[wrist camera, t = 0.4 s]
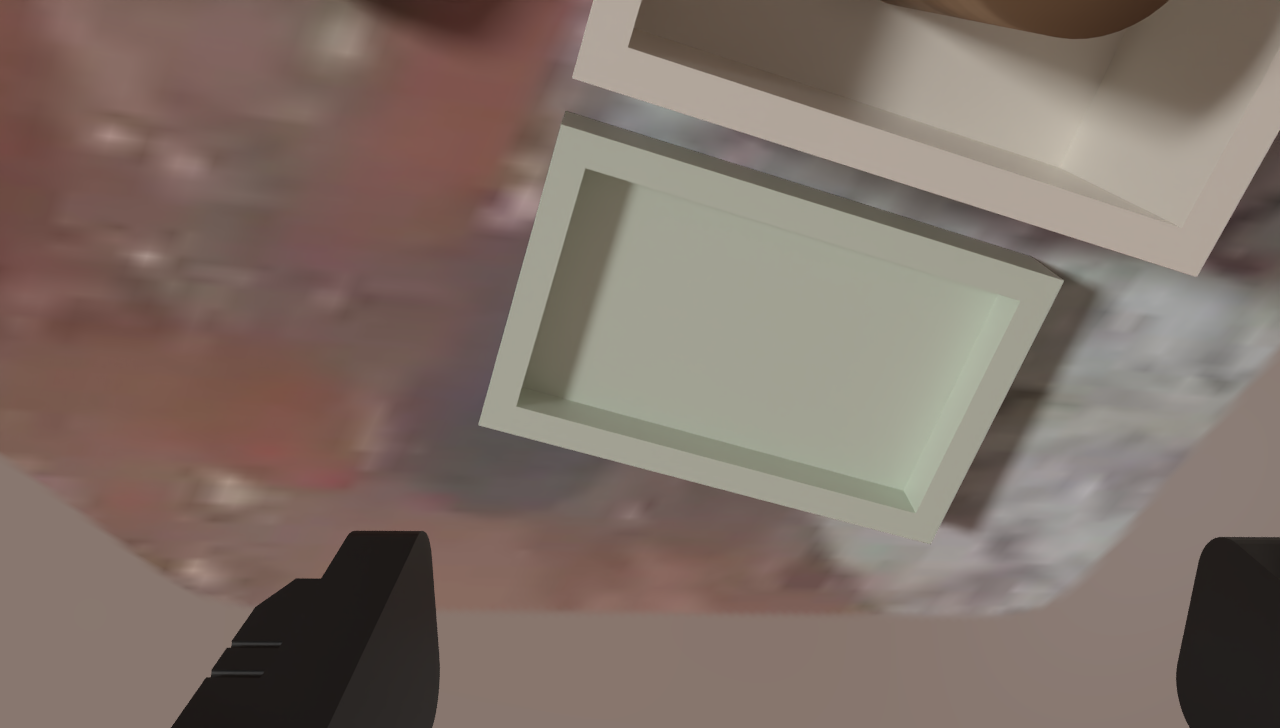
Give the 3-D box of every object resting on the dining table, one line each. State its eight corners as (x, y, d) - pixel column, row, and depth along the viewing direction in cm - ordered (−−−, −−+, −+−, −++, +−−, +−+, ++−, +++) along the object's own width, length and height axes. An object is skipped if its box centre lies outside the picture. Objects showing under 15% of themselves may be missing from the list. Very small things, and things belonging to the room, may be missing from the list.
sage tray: (565, 110, 30) (561, 124, 27) (1032, 256, 32) (1064, 280, 30) (487, 392, 33) (478, 425, 31) (910, 506, 36) (930, 544, 33)
